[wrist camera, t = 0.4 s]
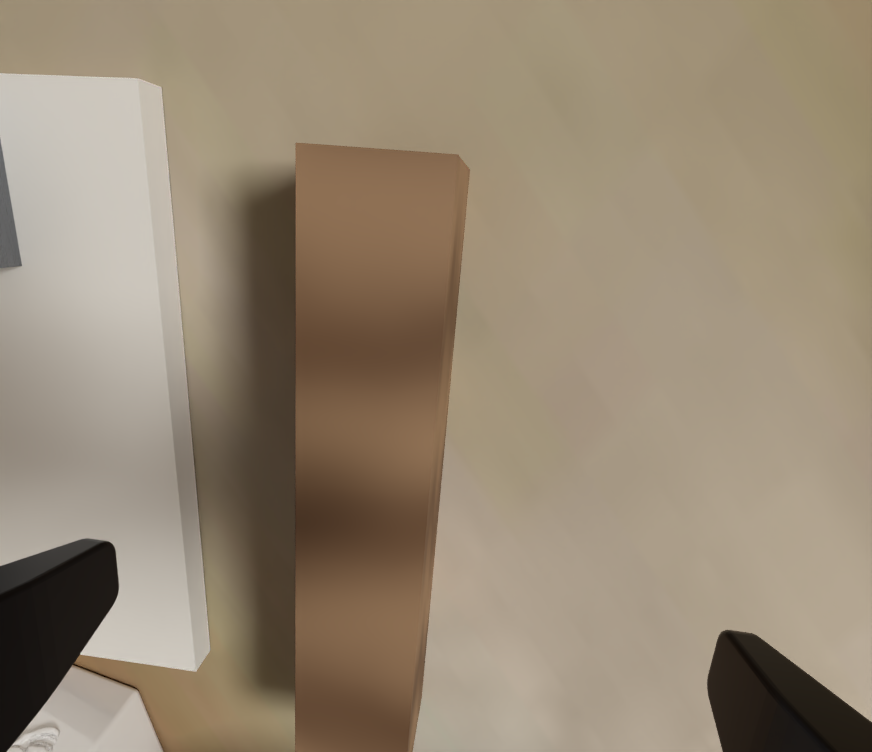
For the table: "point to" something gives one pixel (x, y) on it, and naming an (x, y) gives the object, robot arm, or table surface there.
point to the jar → (90, 718)
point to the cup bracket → (7, 223)
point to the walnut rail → (370, 432)
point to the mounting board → (99, 358)
